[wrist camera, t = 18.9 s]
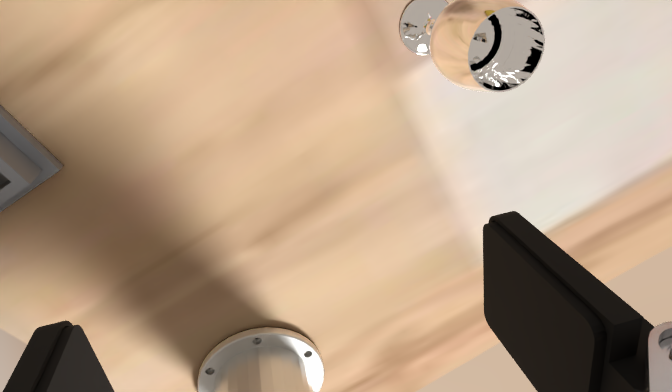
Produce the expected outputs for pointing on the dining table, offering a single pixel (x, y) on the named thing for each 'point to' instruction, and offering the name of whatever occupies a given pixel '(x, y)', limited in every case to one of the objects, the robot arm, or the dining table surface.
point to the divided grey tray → (21, 161)
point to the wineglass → (476, 41)
